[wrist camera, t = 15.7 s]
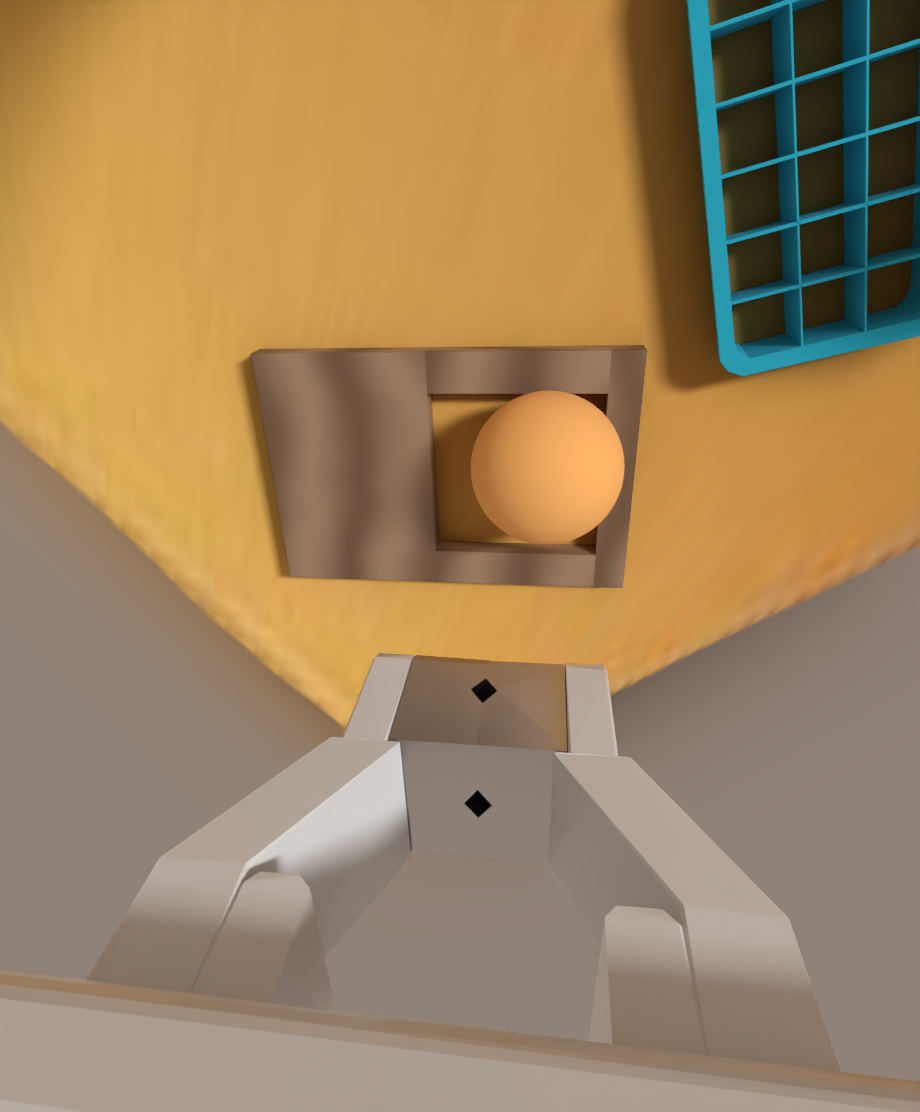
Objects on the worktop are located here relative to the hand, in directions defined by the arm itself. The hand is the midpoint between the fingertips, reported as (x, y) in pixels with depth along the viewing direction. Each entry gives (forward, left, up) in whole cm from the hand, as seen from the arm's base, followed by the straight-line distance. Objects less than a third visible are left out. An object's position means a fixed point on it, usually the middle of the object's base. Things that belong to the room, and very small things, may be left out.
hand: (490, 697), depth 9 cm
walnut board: (0, -11, -34) cm, 36 cm away
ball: (+5, -6, -30) cm, 31 cm away
